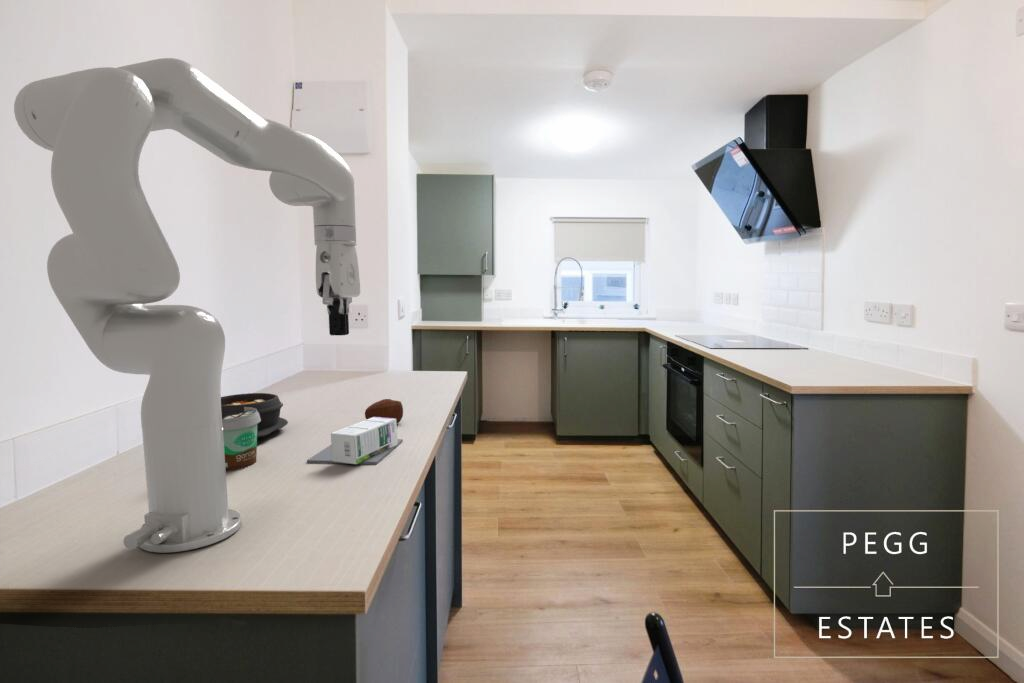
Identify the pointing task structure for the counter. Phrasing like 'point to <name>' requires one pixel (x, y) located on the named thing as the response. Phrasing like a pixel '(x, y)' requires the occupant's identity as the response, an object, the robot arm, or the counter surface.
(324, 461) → the mat
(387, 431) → the syrup box
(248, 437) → the food container
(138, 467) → the counter surface
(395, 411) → the potato
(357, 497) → the counter surface
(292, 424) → the counter surface
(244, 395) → the casserole
